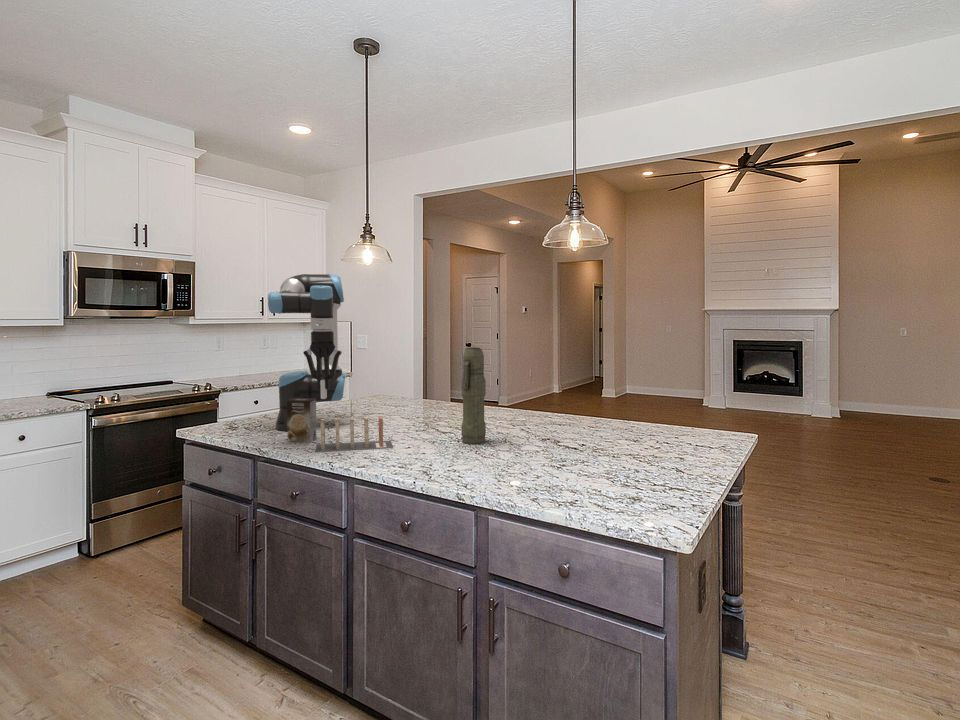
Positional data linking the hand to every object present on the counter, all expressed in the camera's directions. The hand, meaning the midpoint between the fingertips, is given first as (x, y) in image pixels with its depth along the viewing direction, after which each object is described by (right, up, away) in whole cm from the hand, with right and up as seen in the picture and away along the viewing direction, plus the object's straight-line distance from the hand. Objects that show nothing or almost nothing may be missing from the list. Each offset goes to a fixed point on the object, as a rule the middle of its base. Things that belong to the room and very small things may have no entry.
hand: (323, 398), depth 193 cm
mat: (+10, -18, +4) cm, 21 cm away
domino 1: (0, -18, +1) cm, 18 cm away
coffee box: (-12, -17, +13) cm, 24 cm away
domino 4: (+14, -17, +4) cm, 23 cm away
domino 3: (+9, -17, +3) cm, 20 cm away
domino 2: (+4, -18, +2) cm, 18 cm away
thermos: (+52, -17, +13) cm, 56 cm away
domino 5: (+19, -17, +6) cm, 26 cm away
